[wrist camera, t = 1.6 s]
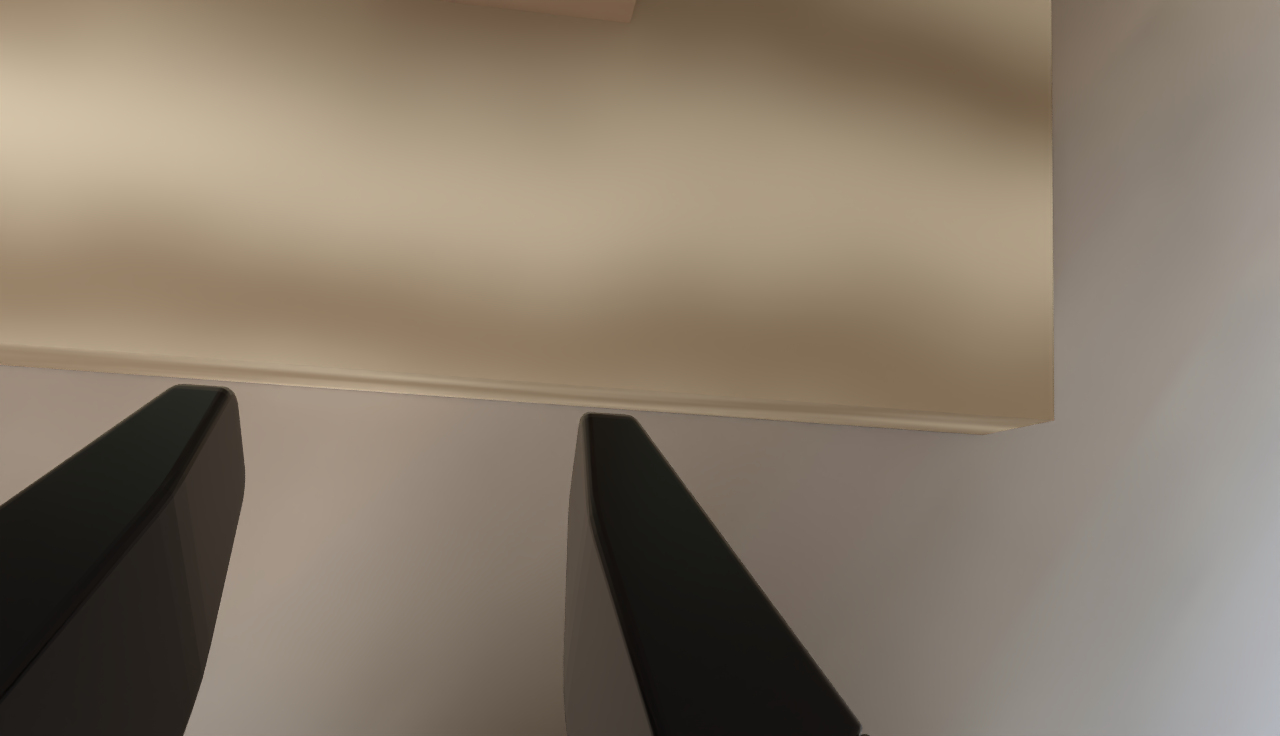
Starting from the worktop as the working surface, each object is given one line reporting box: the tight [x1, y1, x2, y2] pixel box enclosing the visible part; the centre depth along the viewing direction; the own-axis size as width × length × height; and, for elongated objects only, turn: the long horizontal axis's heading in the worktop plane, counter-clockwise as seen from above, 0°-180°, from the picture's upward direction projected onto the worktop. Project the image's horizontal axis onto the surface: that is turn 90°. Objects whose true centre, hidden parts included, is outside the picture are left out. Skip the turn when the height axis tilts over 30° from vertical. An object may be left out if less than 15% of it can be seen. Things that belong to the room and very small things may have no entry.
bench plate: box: [0, 0, 1054, 435], centre depth 22 cm, size 14×22×3 cm, turn 87°
